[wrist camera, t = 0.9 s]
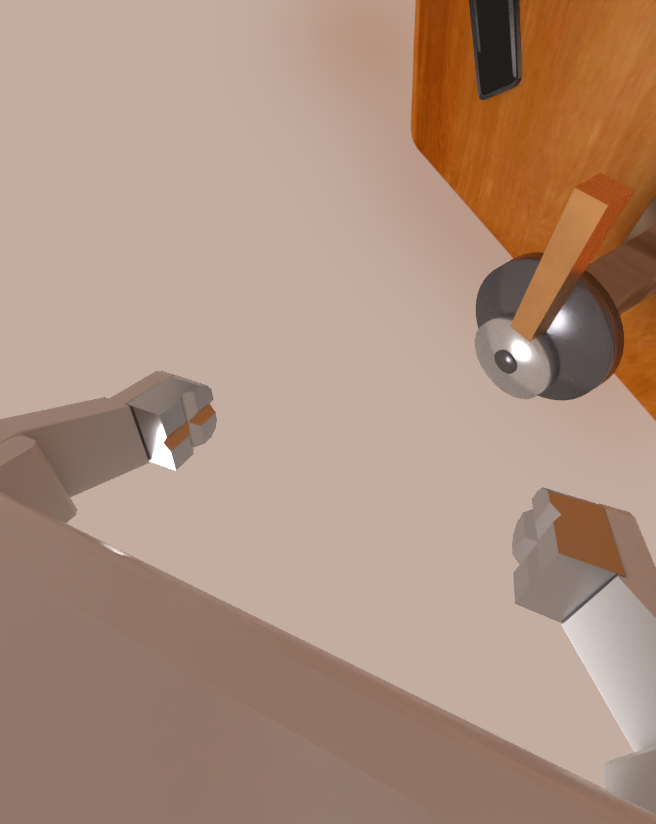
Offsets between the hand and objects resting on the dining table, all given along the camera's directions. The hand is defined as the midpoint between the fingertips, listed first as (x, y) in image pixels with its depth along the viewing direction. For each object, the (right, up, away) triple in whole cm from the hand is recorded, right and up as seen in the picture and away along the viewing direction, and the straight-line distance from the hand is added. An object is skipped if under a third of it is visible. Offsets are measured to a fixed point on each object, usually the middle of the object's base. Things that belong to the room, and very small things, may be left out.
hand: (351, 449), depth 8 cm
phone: (+23, +55, +39) cm, 72 cm away
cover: (+20, +11, +25) cm, 34 cm away
